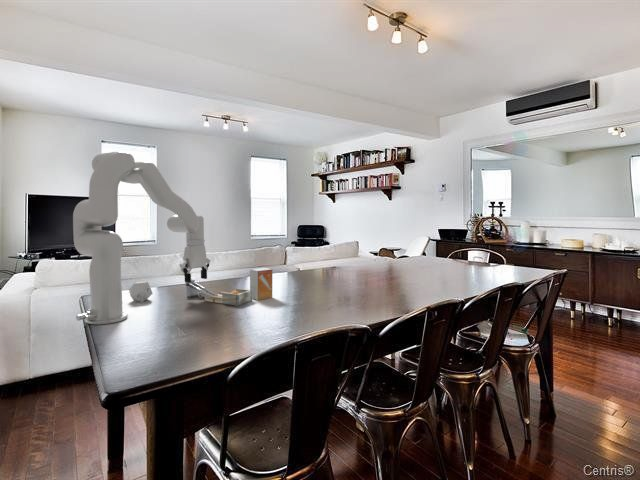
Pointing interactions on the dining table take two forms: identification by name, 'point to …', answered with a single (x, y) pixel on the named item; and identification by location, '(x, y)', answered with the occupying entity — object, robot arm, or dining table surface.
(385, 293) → the dining table surface
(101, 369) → the dining table surface
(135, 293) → the die
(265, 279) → the small box
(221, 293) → the lane
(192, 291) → the ramp
